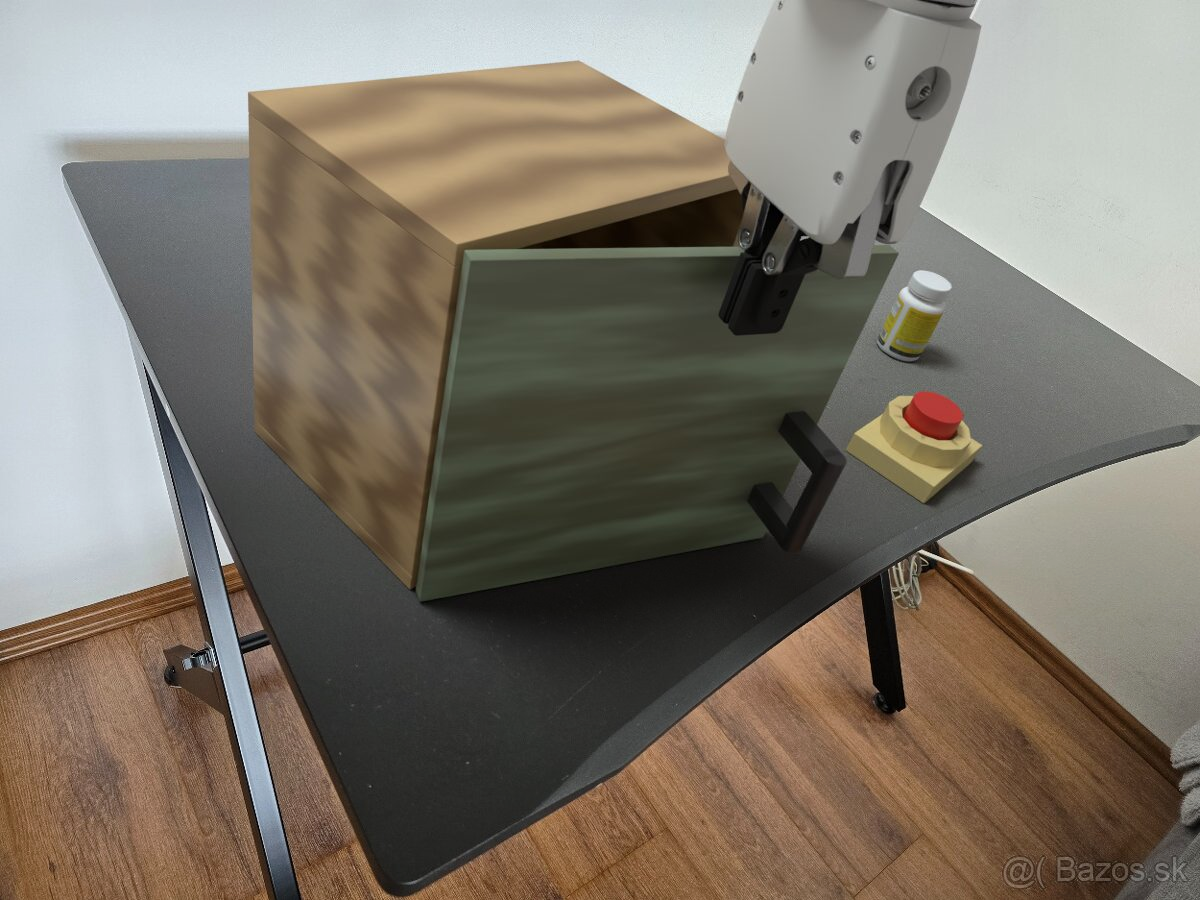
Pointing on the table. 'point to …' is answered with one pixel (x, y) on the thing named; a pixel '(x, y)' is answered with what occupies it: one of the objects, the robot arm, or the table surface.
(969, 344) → the table surface
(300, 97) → the cupboard
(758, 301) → the robot arm
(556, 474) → the door
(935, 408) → the button
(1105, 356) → the table surface
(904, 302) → the supplement bottle
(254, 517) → the table surface
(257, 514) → the table surface
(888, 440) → the button block
